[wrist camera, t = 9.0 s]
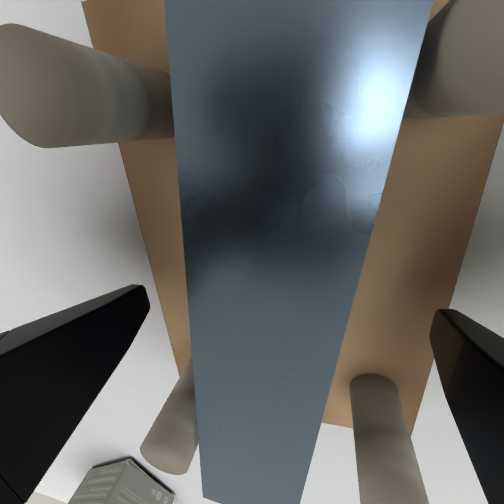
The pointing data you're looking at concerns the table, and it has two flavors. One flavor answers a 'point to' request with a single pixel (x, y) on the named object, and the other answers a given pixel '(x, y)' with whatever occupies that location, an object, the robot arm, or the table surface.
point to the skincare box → (120, 486)
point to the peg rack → (384, 230)
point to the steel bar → (279, 211)
